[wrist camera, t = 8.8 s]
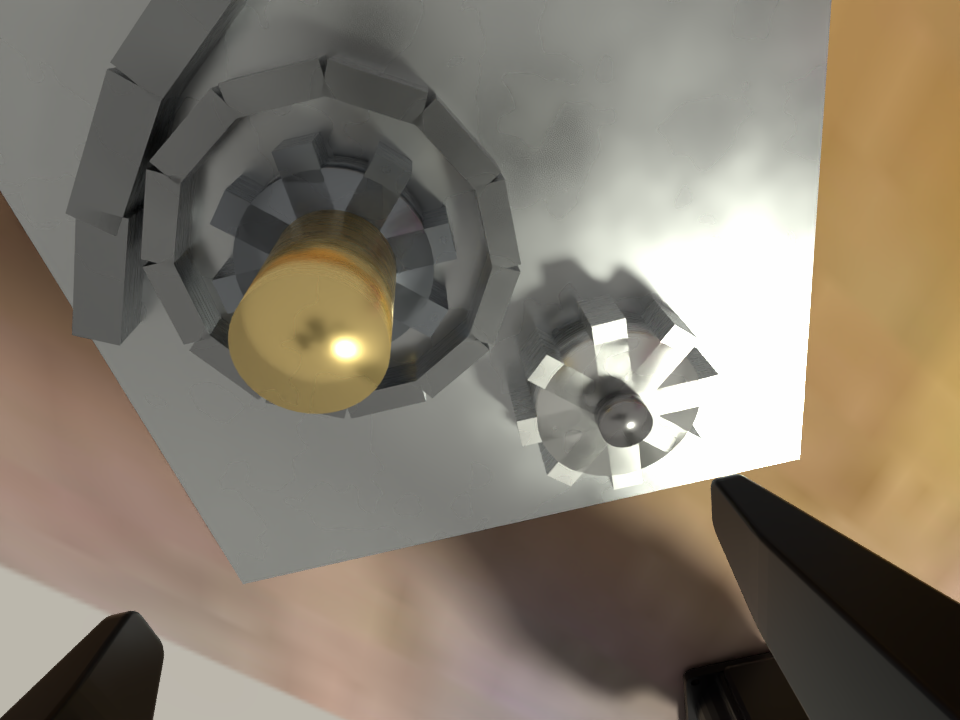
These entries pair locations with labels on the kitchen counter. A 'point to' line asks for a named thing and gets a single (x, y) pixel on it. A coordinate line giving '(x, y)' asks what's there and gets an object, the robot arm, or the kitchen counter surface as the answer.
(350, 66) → the carrier
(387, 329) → the gear
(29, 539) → the kitchen counter surface
